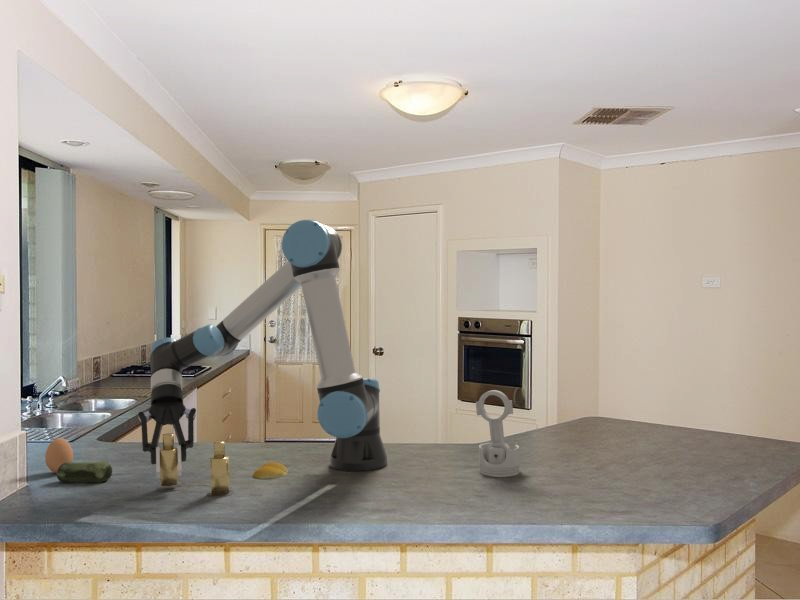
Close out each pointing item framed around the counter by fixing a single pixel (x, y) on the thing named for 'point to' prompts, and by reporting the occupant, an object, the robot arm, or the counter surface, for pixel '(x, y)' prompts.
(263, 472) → the bread roll
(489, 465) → the engine component
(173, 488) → the board
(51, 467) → the egg
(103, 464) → the vegetable
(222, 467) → the gold bottle
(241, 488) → the counter surface
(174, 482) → the brass bottle
